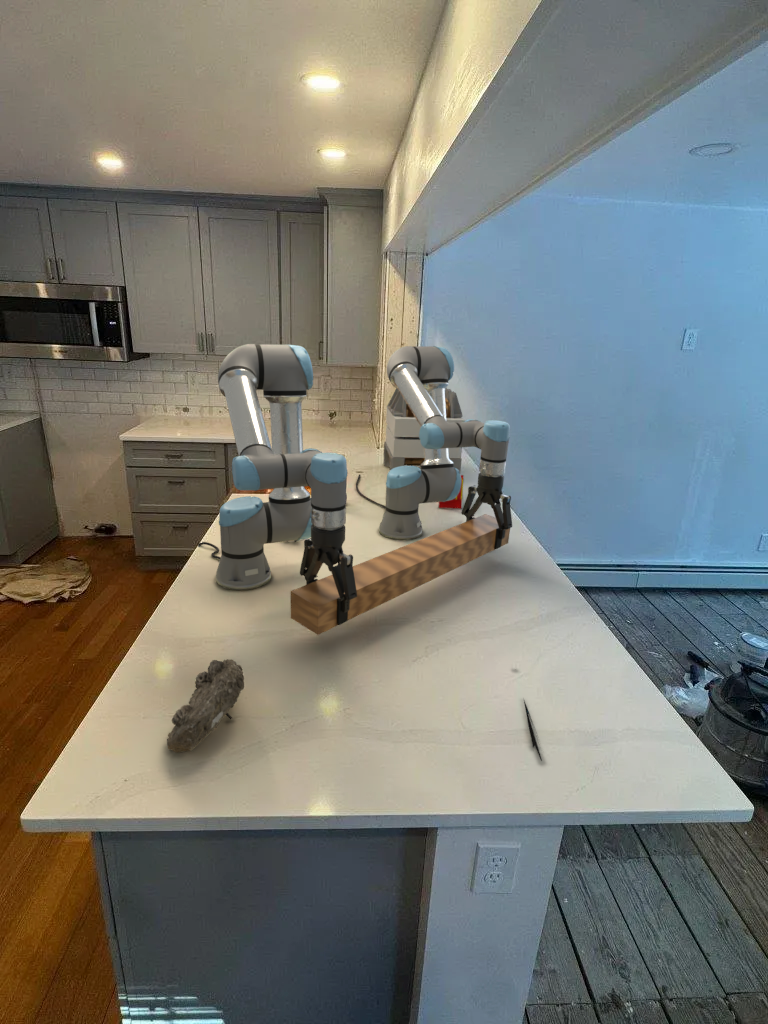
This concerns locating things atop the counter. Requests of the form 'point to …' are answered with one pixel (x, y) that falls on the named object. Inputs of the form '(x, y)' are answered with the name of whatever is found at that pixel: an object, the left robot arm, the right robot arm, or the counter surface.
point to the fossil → (206, 705)
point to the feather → (532, 731)
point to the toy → (456, 501)
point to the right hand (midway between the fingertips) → (483, 542)
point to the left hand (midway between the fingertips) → (327, 613)
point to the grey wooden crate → (414, 432)
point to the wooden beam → (396, 572)
